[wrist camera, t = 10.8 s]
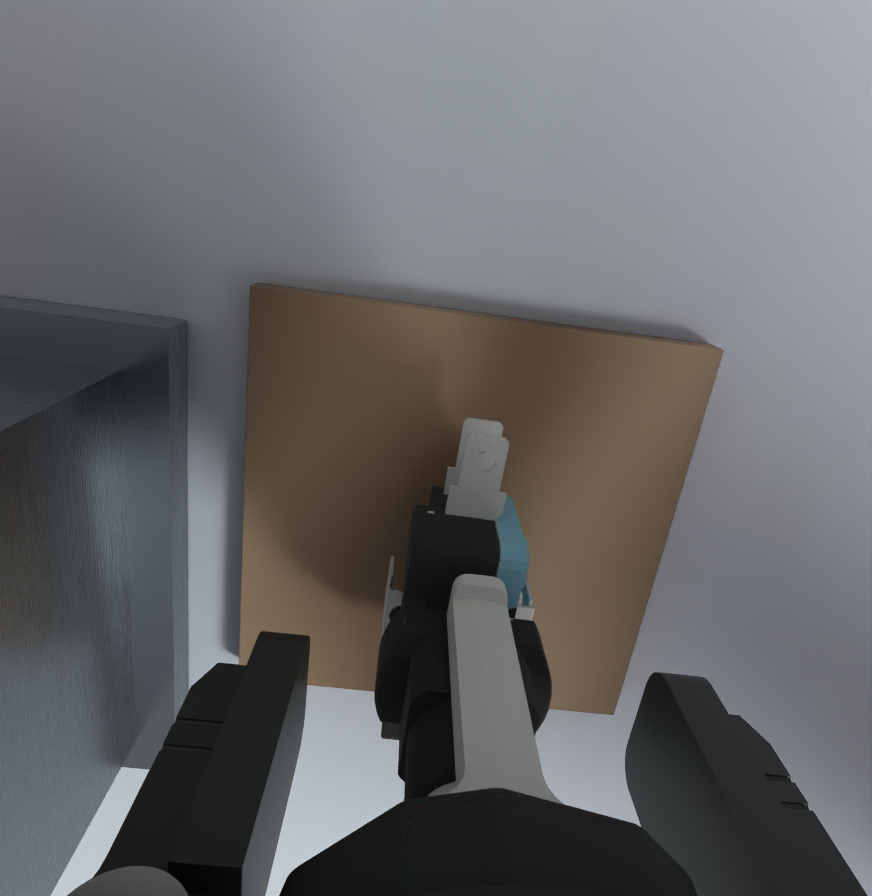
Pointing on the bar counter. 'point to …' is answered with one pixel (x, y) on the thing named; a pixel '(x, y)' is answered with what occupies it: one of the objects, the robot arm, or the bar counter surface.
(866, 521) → the bar counter surface
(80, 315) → the block
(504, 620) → the push button
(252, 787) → the robot arm
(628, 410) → the plate
